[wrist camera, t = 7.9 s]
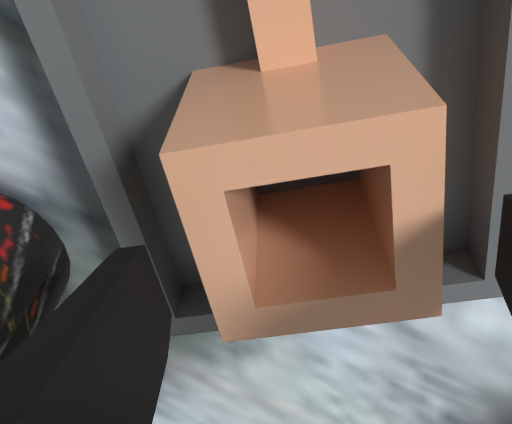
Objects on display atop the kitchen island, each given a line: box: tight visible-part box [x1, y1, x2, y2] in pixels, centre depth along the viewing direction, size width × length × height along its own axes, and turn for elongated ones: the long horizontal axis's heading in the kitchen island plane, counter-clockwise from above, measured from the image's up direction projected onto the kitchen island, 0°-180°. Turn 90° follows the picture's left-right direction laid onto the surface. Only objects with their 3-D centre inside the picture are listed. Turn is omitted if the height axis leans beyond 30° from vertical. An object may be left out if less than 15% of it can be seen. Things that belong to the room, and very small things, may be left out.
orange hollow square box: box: [159, 0, 447, 342], centre depth 11 cm, size 9×5×5 cm, turn 11°
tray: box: [14, 0, 512, 336], centre depth 13 cm, size 14×12×2 cm
